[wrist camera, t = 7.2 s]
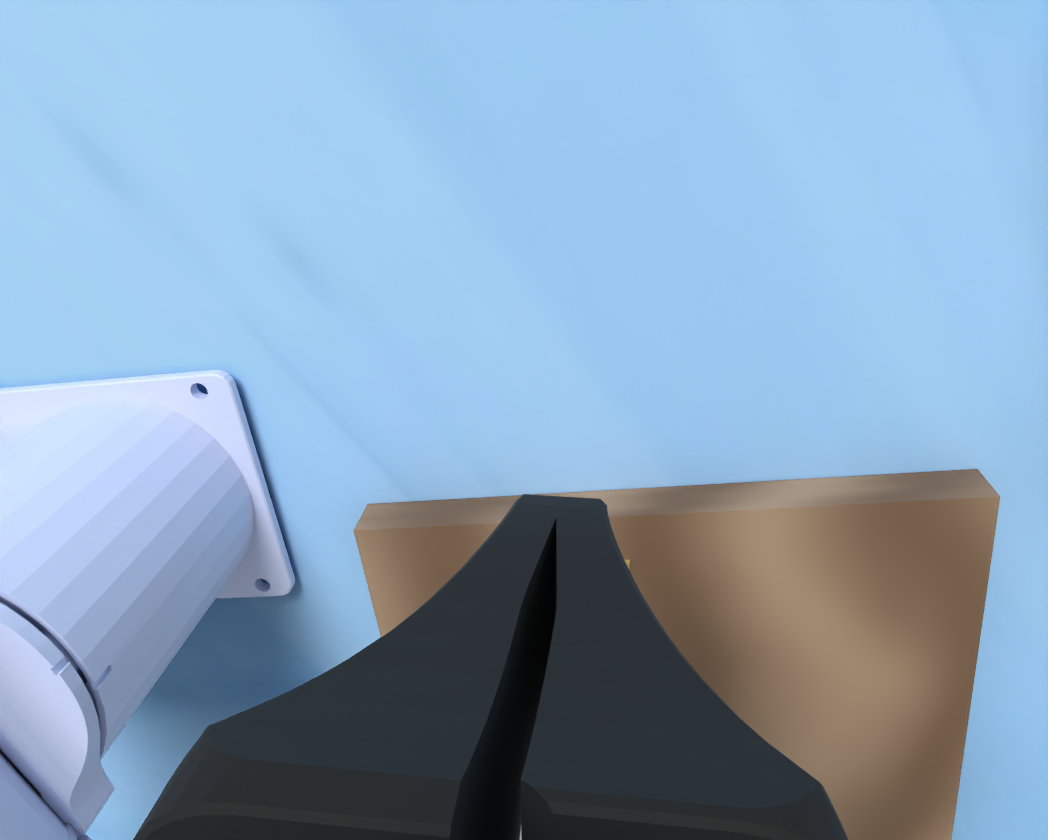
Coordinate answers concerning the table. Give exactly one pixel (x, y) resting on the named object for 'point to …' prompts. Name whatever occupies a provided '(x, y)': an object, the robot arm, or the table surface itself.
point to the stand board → (784, 614)
